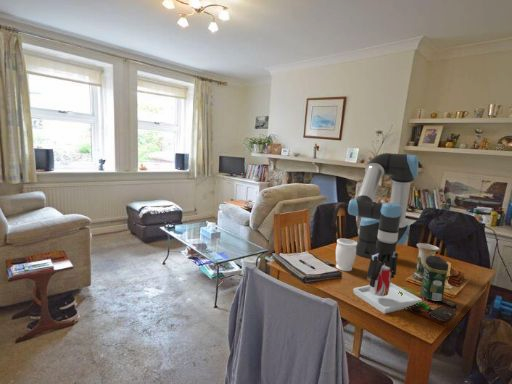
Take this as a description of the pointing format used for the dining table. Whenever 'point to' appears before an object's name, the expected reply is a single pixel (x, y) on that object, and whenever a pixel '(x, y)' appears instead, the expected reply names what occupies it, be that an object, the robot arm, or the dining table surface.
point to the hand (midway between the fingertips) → (379, 292)
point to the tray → (387, 298)
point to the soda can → (383, 281)
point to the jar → (345, 254)
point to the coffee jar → (434, 278)
